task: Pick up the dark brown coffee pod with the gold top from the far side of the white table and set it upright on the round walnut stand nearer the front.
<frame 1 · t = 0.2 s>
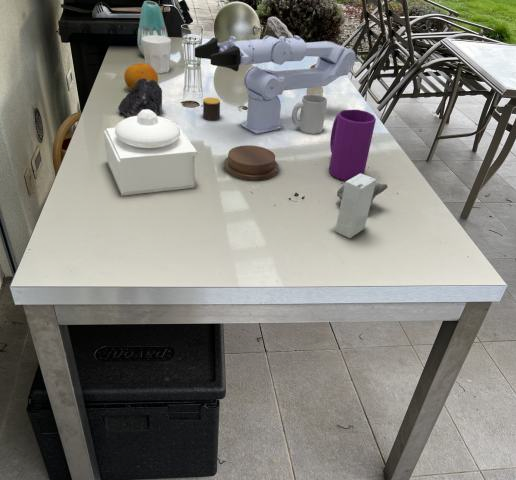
hand: (203, 56, 135), 21 cm above the table, tool horizontal, fingers open, 7 cm apart
coffee pod: (211, 117, 161), on the table
mug: (340, 169, 141), on the table
vase: (153, 57, 203), on the table
cosmetic box: (349, 231, 118), on the table
fossil: (358, 207, 127), on the table
pod stand: (250, 168, 137), on the table
cup: (306, 130, 160), on the table
butter dish: (151, 176, 131), on the table
fruit: (141, 91, 174), on the table
cup 2: (158, 70, 192), on the table
crystal cluster: (142, 114, 160), on the table
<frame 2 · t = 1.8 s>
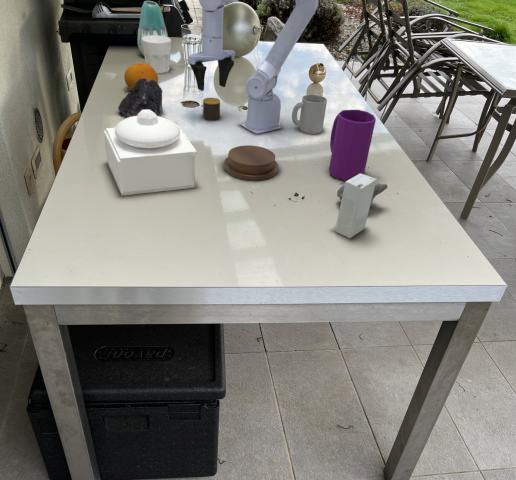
hand: (211, 87, 156), 9 cm above the table, tool pointing down, fingers open, 7 cm apart
nothing on the table moved.
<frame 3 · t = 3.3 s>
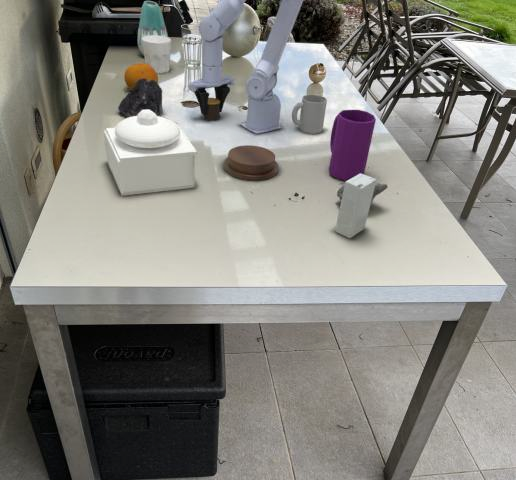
hand: (211, 112, 160), 1 cm above the table, tool pointing down, fingers closed on coffee pod, 5 cm apart
coffee pod: (211, 117, 161), on the table, touching gripper
everything else where it was.
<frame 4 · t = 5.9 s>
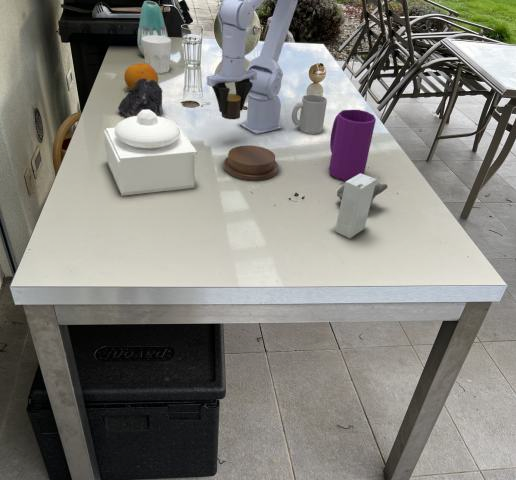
hand: (231, 110, 143), 8 cm above the table, tool pointing down, fingers closed on coffee pod, 5 cm apart
coffee pod: (230, 116, 144), point 7 cm above the table, touching gripper
everything else where it was.
when the fingers open (5 cm above the table, at t = 8.5 s): coffee pod stays where it is, resting on pod stand.
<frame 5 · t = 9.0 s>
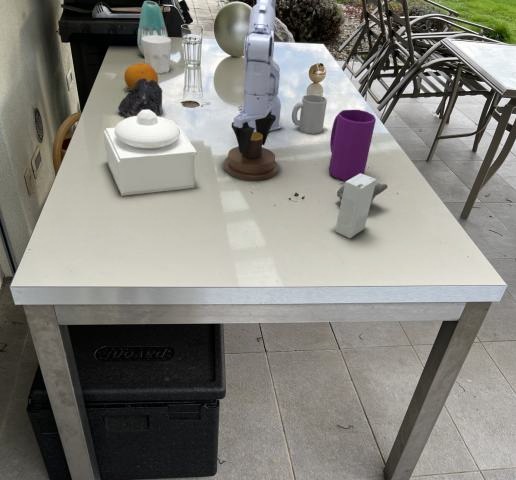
hand: (252, 148, 134), 5 cm above the table, tool pointing down, fingers open, 7 cm apart
coffee pod: (251, 154, 135), point 4 cm above the table, touching pod stand
everything else where it was.
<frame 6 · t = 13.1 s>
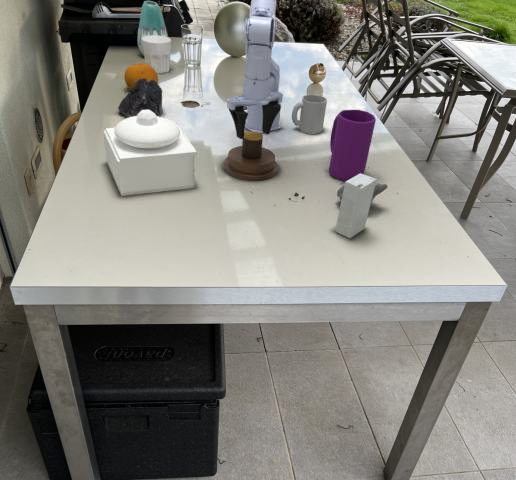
hand: (253, 135, 132), 9 cm above the table, tool pointing down, fingers open, 7 cm apart
nothing on the table moved.
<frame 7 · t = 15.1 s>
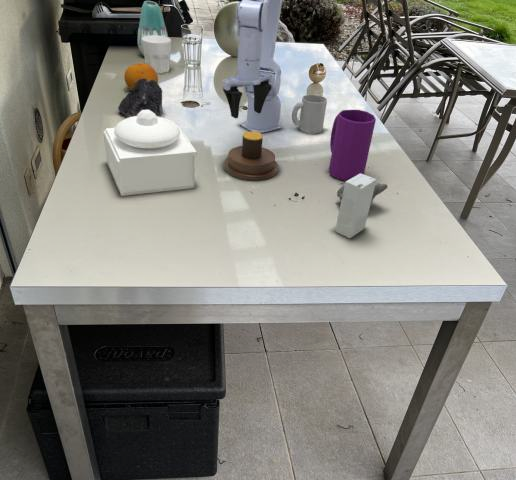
hand: (246, 114, 140), 9 cm above the table, tool pointing down, fingers open, 7 cm apart
nothing on the table moved.
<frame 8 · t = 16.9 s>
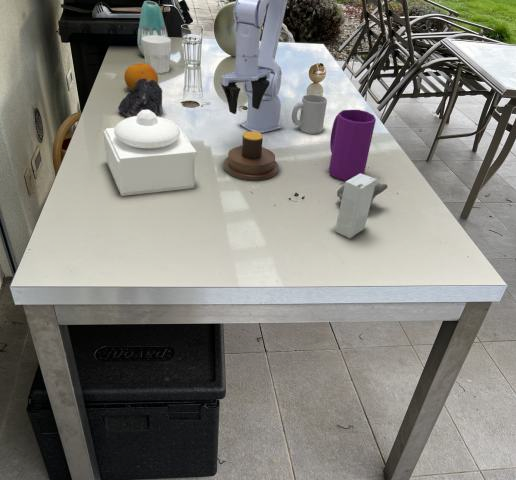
hand: (244, 110, 142), 9 cm above the table, tool pointing down, fingers open, 7 cm apart
nothing on the table moved.
at the end: coffee pod inside the target area on the pod stand (0.1 cm from its centre), point 3.6 cm above the pod stand's base; coffee pod tilted 0°; the gripper is holding nothing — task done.
